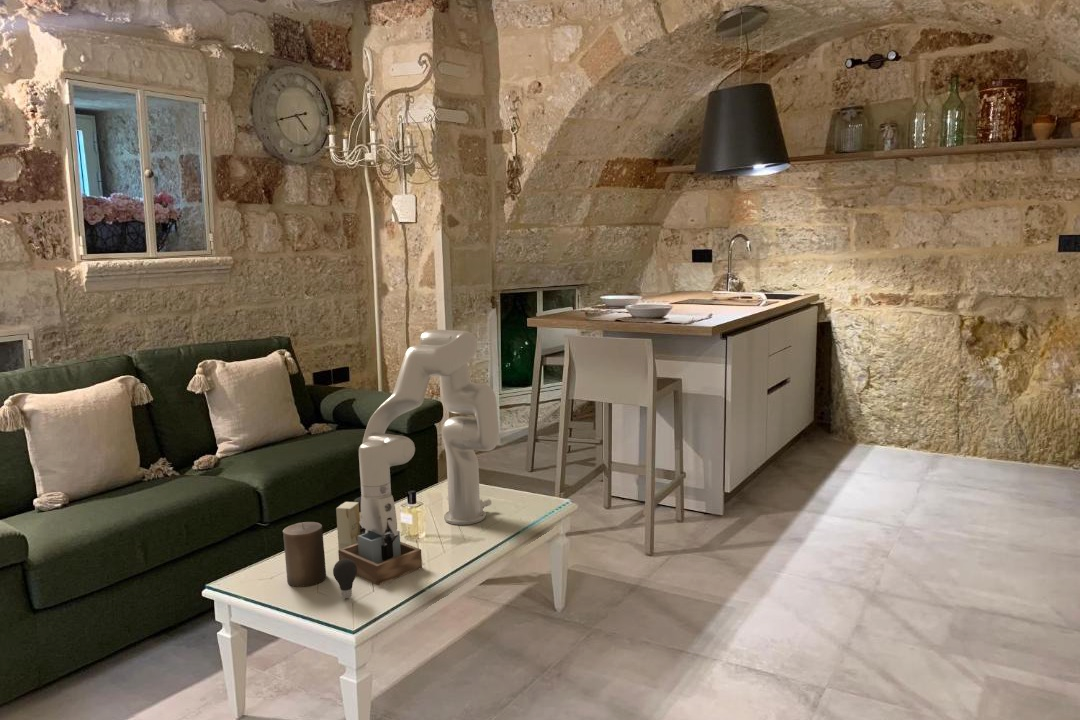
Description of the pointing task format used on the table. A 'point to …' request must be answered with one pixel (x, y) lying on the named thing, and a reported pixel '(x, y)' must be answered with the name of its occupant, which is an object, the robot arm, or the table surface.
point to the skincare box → (348, 524)
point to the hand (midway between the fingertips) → (380, 554)
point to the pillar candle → (304, 554)
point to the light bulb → (345, 576)
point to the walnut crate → (384, 564)
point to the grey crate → (376, 546)
